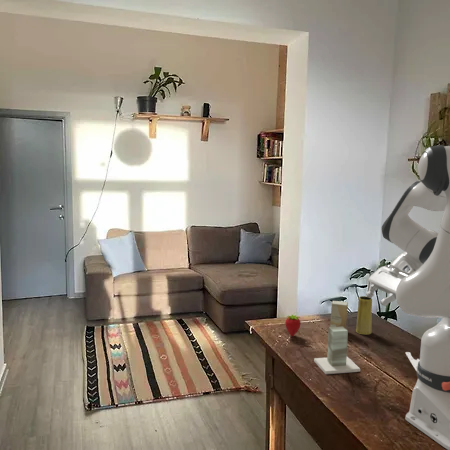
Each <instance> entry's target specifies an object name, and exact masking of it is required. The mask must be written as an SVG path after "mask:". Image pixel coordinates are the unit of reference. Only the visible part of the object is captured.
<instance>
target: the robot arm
mask: <svg viewBox="0 0 450 450" xmlns="http://www.w3.org/2000/svg"><path fill="white" fill-rule="evenodd" d="M417 173H418V177H419V180H416V181H415V182H413V183H412V184H411V185H409V186H408V187H407V188H406V190H405V191H404V192H403V194H402V196H401V197H400V198H399V200H398V202H397V203H396V205H395V207H394V208H393V210H392V211H391V213H390V214H389V216H387V218H386V219H385V221H384V222H383V224H382V226H381V234H382V237H383V239H385V240H386V241H388V242H389V243H391V244H393V245H395V246H396V247H397V248H399V249H400V250H402V251H403V252H402V253H399V254H398V255H397V257H396V258H395V259H394V260H393V261H392V262H390V264H387V265H385V266H380V267H379V268H378V269H377V270H375V271H374V272H373V273H372V274H371V275H370V276H369V277H368V280H367V281H368V283H370V284H371V285H369V289H368V290H367V292H366V293H365V296H367V297H369V298H372V299H373V297H374V296H375V294H374V293H375V291H377V290H380V291H382V292H383V293H386V294H388V296H387V297H385V298H384V297H383V298H382V299H381V300H379V303H380V305H382V306H383V307H387V306H388V305H389V304H390V303H393V302H395V301H396V303H397V304H398V306H399V308H400V309H401V310H402V311H403V313H404V314H406V315H409V316H415V317H421V318H441V319H440V321H439V322H438V323H437V324H436V325H434V326H433V327H430V328H428V329H427V330H426V331H425V332H424V333H423V335H422V336H421V339H420V340H421V341H420V349H419V351H420V354H419V360H420V361H419V362H418V367H417V371H416V376H417V380H416V383H415V385H414V387H413V389H412V394H411V398H410V399H411V400H410V405H409V411H408V412H407V413H406V414H405V418H404V419H405V420H406V421H407V422H408V423H410V424H411V425H412V426H413V427H415V428H417V429H418V430H419V431H420V432H422V433H424V434H425V435H426V436H428V437H429V438H430V439H431V440H432V441H433V440H434V441H435V442H436V443H437V444H439V445H440V446H442V447H443V448H445V449H446V450H450V145H443V144H440V145H438V144H437V145H433V146H428V147H426V148H425V149H424V150H423V152H422V153H421V155H420V158H419V161H418V165H417ZM414 207H416V208H417V207H418V208H422V209H425V210H428V211H431V212H443V211H444V212H443V214H442V218H441V221H440V225H439V230H438V231H435V230H432V229H427V228H425V227H423V226H422V225H420V224H419V223H418V222H416V221H415V220H413V219H412V218H411V217H410V216H409V213H410V212H411V210H412V209H413V208H414Z"/></svg>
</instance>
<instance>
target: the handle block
mask: <svg viewBox="0 0 450 450" xmlns="http://www.w3.org/2000/svg"><path fill="white" fill-rule="evenodd" d="M327 330H328V331H327V332H328V335H327V354H326V355H327V362H328V363H329V364H330V365H331V366H346V359H347V357H348V354H347V353H348V336H349V335H348V333H349V332H348V331H349V330H348V329H347V328H346V329H345V328H344V327H343V326H342V327H330V326H329V327H328V328H327Z"/></svg>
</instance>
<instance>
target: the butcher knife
mask: <svg viewBox="0 0 450 450" xmlns="http://www.w3.org/2000/svg"><path fill="white" fill-rule="evenodd" d="M405 355H406V357H407V358H408V360H409V362H410V363H411V365H412V366H413V368H414V370H415V371H416V372H417V367H418V362H419V361H420V358H417V359H415V358H414V357H413V356H412V353H411V352H409V351H406V352H405Z"/></svg>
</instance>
